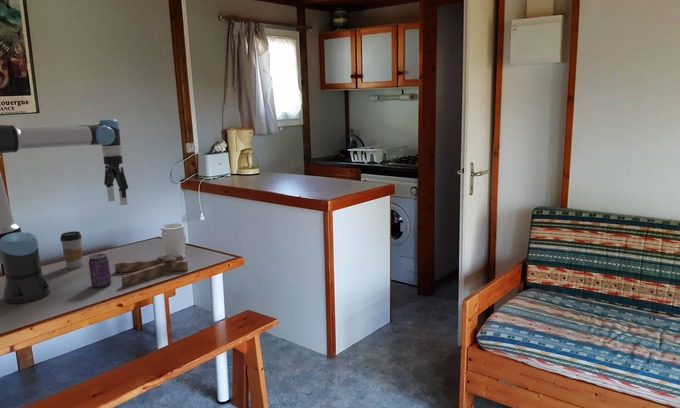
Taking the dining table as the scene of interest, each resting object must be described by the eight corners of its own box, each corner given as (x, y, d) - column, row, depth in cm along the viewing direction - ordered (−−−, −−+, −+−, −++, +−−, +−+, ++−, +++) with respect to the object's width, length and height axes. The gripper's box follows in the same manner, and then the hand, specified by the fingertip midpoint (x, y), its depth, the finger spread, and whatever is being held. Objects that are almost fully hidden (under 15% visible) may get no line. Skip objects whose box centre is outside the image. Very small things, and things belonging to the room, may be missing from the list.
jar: (186, 260, 235) (183, 227, 232) (162, 262, 233) (158, 229, 230) (188, 253, 245) (185, 222, 242) (165, 255, 244) (162, 223, 241)
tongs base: (125, 287, 204) (124, 276, 203) (116, 284, 208) (115, 273, 207) (189, 265, 227) (188, 256, 226) (180, 263, 231) (179, 254, 230)
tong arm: (112, 275, 217) (111, 263, 216) (116, 270, 223) (115, 258, 222) (187, 270, 221) (186, 258, 220) (189, 265, 227) (188, 253, 226)
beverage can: (99, 281, 211) (95, 252, 208) (115, 282, 209) (111, 253, 207) (87, 288, 204) (83, 258, 202) (104, 288, 203) (100, 259, 200)
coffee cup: (89, 263, 235) (85, 231, 232) (78, 269, 227) (73, 236, 224) (71, 263, 236) (67, 231, 233) (60, 269, 227) (55, 236, 224)
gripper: (133, 156, 223) (138, 205, 228) (110, 152, 241) (115, 198, 245) (115, 157, 218) (120, 207, 222) (93, 154, 236) (98, 200, 240)
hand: (117, 203), depth 234 cm, fingers open, 13 cm apart
